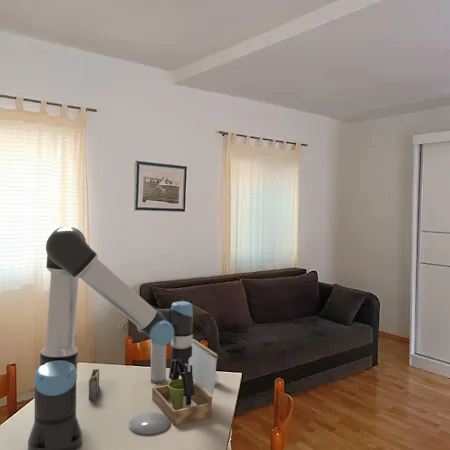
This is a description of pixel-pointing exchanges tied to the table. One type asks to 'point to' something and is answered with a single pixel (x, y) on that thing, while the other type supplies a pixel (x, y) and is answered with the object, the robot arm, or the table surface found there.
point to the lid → (203, 366)
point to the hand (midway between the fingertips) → (180, 406)
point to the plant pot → (176, 393)
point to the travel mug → (158, 363)
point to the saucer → (149, 423)
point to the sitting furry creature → (215, 379)
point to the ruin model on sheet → (94, 384)
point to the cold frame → (184, 414)
